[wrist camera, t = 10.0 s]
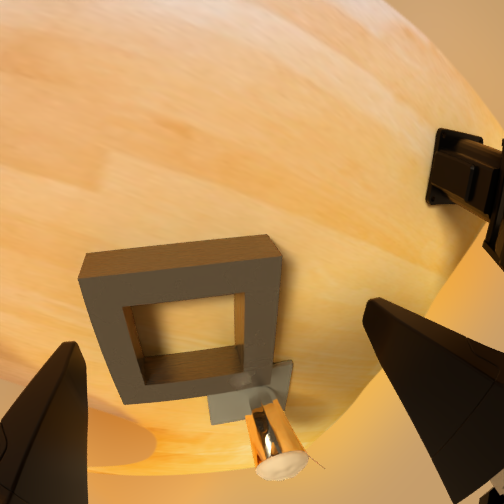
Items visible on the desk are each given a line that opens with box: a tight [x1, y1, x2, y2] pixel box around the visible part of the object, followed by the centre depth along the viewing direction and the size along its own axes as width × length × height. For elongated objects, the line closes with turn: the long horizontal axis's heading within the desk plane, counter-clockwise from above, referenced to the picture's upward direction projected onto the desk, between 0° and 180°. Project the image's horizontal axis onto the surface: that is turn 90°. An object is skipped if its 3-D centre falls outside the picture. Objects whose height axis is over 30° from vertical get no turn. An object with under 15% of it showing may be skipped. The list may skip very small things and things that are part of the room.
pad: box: [207, 360, 293, 425], centre depth 30 cm, size 8×8×1 cm
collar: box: [78, 234, 282, 405], centre depth 22 cm, size 12×12×3 cm
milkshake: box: [241, 386, 325, 481], centre depth 25 cm, size 4×5×10 cm
